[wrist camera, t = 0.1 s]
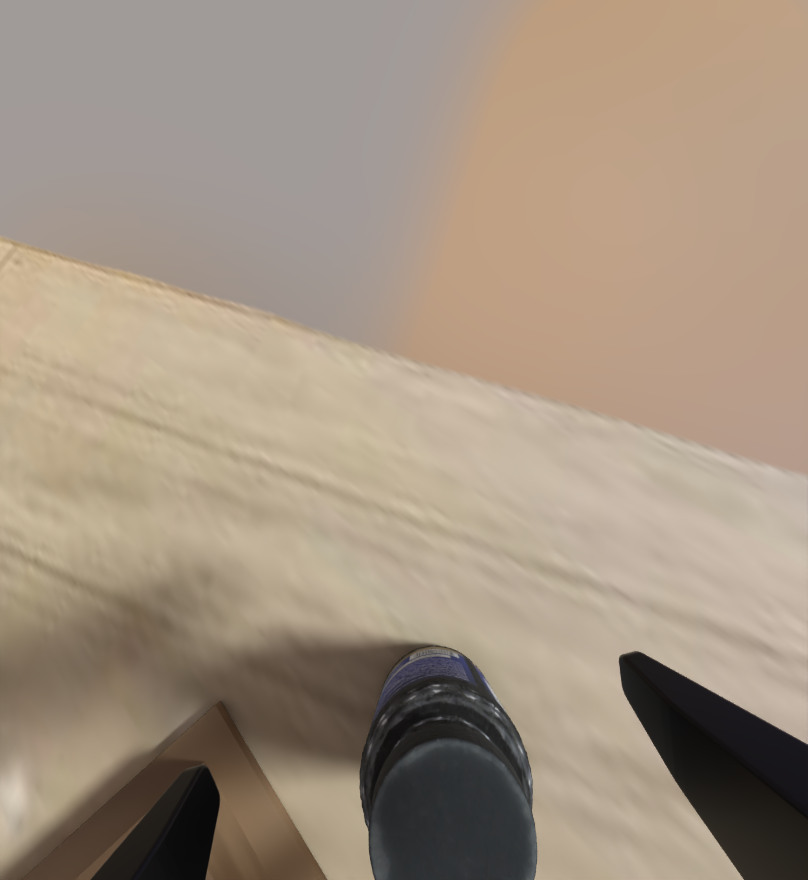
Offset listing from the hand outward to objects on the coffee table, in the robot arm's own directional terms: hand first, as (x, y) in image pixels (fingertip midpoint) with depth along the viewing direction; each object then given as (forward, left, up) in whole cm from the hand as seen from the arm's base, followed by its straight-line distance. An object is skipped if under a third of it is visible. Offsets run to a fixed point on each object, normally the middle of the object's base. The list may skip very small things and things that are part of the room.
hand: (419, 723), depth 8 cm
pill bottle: (-3, +2, -15) cm, 16 cm away
